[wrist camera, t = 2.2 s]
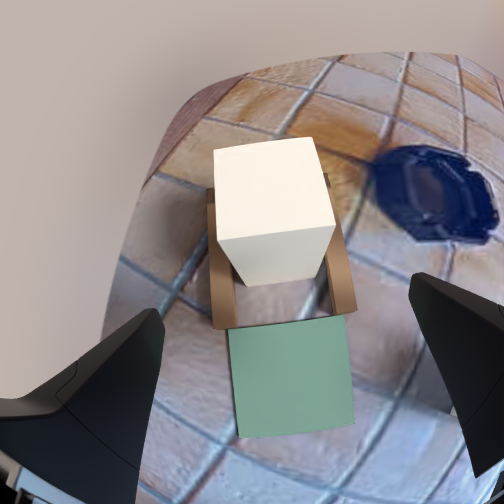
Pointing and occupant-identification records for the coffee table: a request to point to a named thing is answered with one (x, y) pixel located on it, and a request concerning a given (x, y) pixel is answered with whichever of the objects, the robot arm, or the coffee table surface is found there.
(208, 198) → the brown wooden frame
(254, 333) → the green mat
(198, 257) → the coffee table surface
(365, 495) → the coffee table surface
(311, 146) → the cream block
